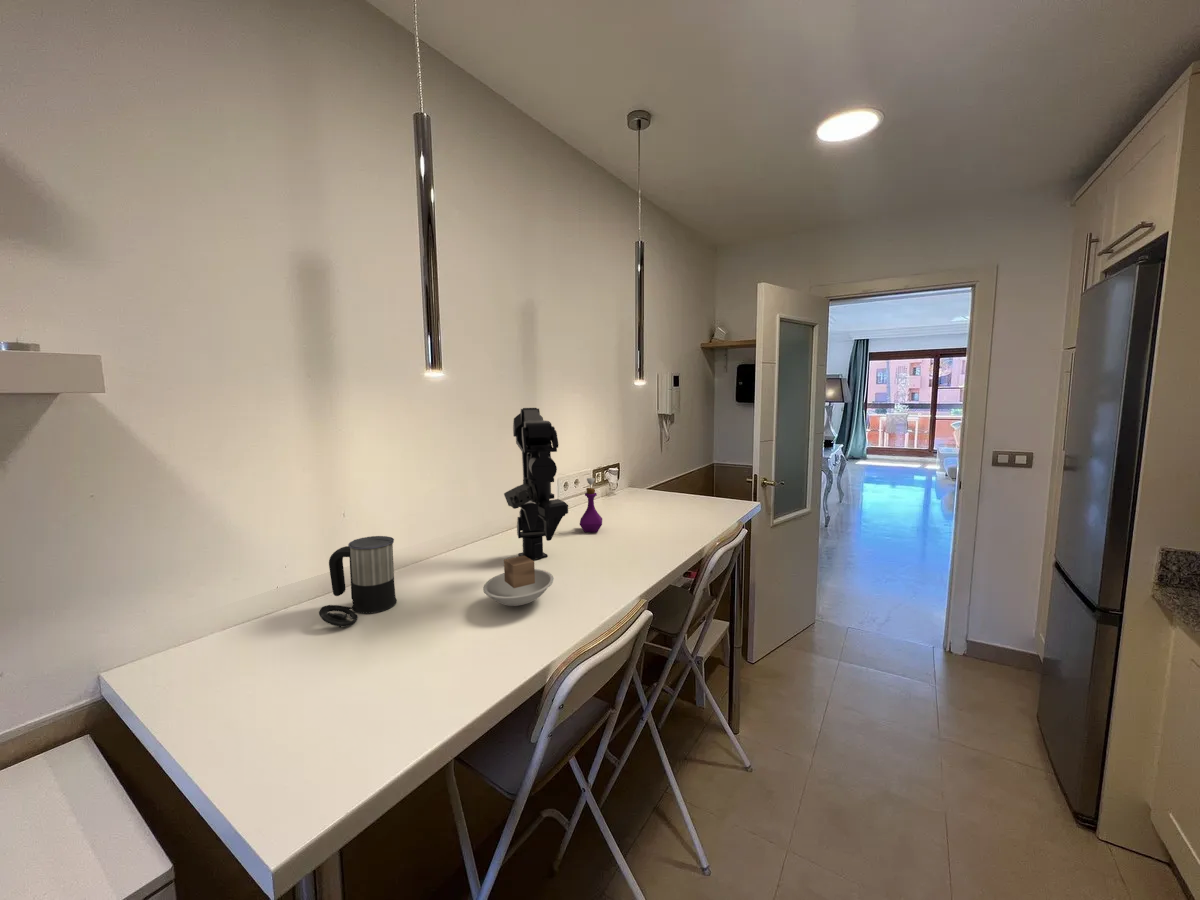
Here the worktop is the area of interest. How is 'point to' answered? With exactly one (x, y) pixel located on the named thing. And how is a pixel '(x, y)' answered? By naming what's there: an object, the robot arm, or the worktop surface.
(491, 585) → the dish
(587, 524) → the perfume bottle
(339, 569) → the milk frother
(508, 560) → the walnut block
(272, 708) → the worktop surface
